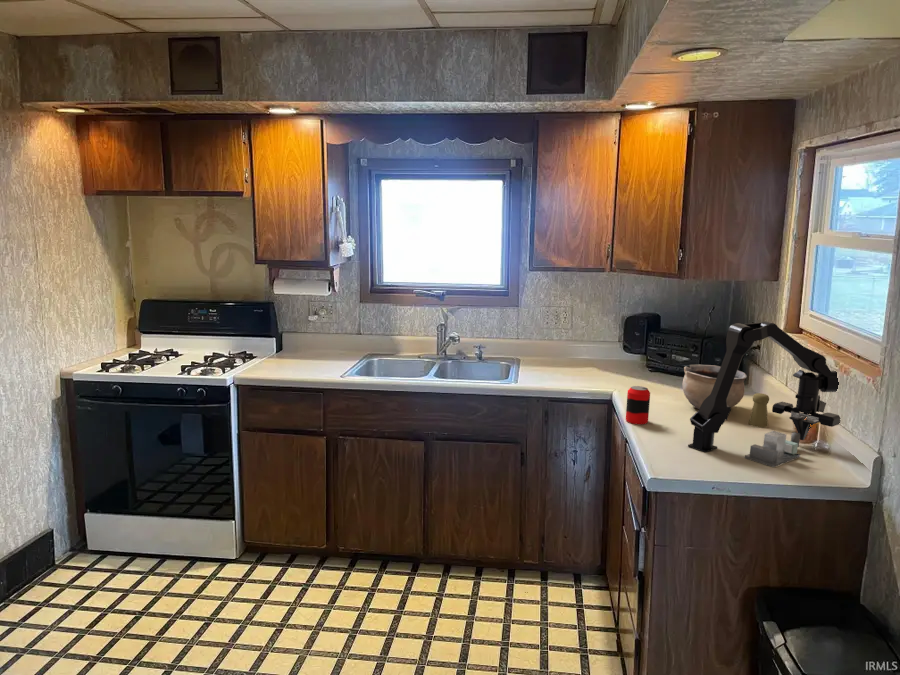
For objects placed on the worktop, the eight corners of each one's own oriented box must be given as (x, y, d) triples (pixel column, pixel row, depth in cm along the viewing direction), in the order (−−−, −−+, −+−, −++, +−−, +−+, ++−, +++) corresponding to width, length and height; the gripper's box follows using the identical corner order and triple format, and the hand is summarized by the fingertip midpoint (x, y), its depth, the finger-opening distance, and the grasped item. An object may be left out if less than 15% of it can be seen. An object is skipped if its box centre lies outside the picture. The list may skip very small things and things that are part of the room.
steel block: (775, 458, 202) (777, 437, 201) (762, 454, 205) (764, 433, 204) (783, 455, 205) (786, 434, 204) (771, 451, 208) (773, 430, 207)
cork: (751, 420, 241) (754, 390, 239) (769, 424, 237) (773, 393, 235) (746, 424, 237) (749, 394, 234) (764, 428, 233) (768, 397, 231)
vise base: (774, 467, 197) (775, 454, 196) (744, 458, 204) (746, 445, 203) (799, 457, 206) (801, 444, 205) (770, 448, 213) (772, 436, 212)
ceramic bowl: (680, 398, 268) (683, 361, 265) (739, 404, 262) (743, 366, 259) (680, 414, 247) (684, 374, 244) (745, 421, 241) (749, 379, 238)
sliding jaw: (792, 454, 205) (794, 441, 204) (769, 447, 210) (771, 435, 209) (807, 448, 210) (809, 435, 209) (785, 442, 216) (786, 429, 215)
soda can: (647, 425, 233) (650, 391, 231) (624, 423, 235) (627, 389, 233) (648, 419, 240) (650, 386, 238) (626, 417, 242) (628, 384, 240)
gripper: (851, 395, 210) (845, 443, 212) (791, 382, 224) (785, 427, 227) (835, 400, 203) (828, 450, 206) (773, 386, 218) (768, 433, 220)
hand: (802, 439), depth 215 cm, fingers closed
